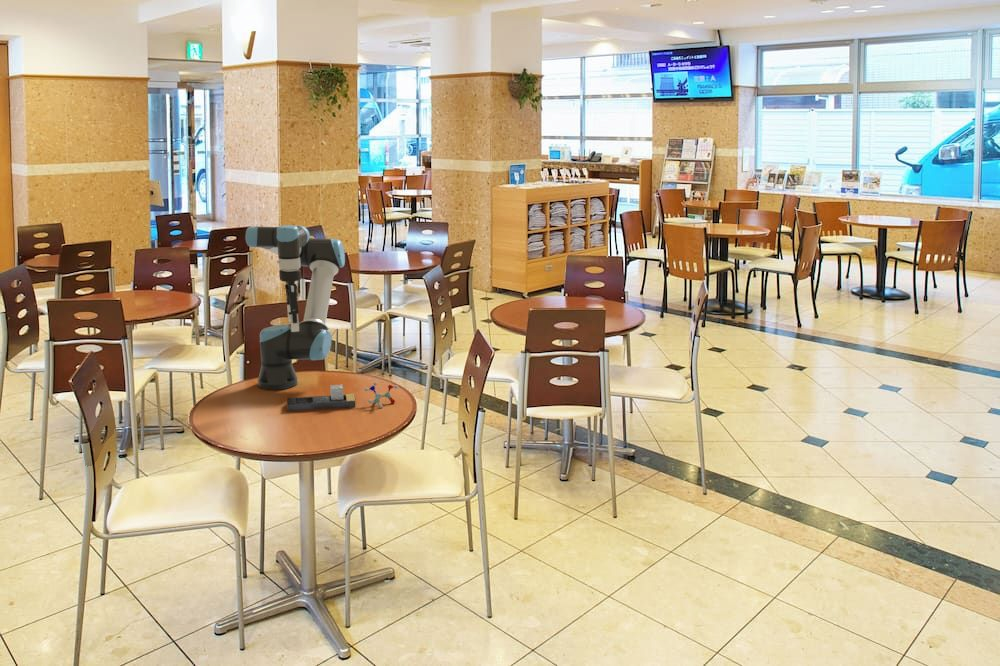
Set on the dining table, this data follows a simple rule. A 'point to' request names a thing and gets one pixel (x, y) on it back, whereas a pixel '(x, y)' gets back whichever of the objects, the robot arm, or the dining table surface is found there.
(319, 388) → the dining table surface
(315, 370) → the dining table surface
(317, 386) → the dining table surface
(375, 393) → the molecular model
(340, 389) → the light grey rectangular block
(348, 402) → the grey slotted frame
